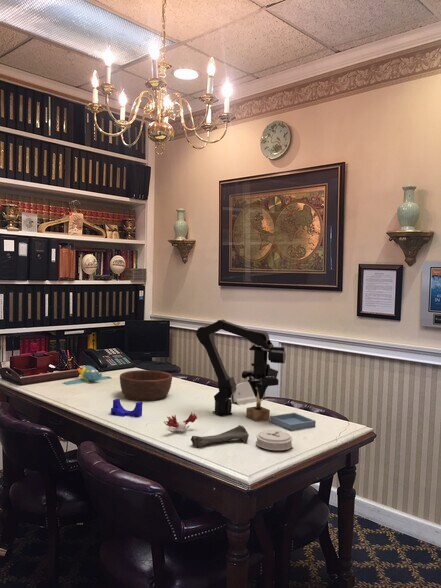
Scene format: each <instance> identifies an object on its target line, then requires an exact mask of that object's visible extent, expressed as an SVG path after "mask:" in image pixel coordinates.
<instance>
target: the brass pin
mask: <svg viewBox="0 0 441 588" xmlns="http://www.w3.org/2000/svg"><path fill="white" fill-rule="evenodd" d="M255 389H257V402H255V403H256V406H255V407H256V410H261V407H262V401H261V399H260V398H259V394H258V388H257V386H256V387H255Z"/></svg>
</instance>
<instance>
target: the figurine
mask: <svg viewBox="0 0 441 588" xmlns="http://www.w3.org/2000/svg"><path fill="white" fill-rule="evenodd" d="M166 418H167V420H168V421H166V420H164V421H163V424H165V425H166V426H168V430H169V432H173V433H174V432H176V431H178V432H179V433H181V432H182V433H184V431H185V432H188V429H189V427H190V424H189V423H194V422H195V421H196V420H197V419H198V416H197V414H195V413H193V412H192V411H190V415H189V416H188V418H187V419H185V420H182V421H178V420H177V416H176V414H174V415H171V417H170V416H166ZM177 421H178V422H177Z"/></svg>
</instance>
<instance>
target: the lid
mask: <svg viewBox="0 0 441 588" xmlns="http://www.w3.org/2000/svg"><path fill="white" fill-rule="evenodd" d="M292 441H293V436H292V435H290V433H288V432H286V431H282V430H276V429H265V430H261V431H260V432H257V434H256V442H255V444H256V445H257V446H258V447H259V448H261V449H265V450H268V451H269V450H271V451H286V450H289V449H291V448H292V447H293V444H292Z"/></svg>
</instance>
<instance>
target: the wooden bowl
mask: <svg viewBox="0 0 441 588" xmlns="http://www.w3.org/2000/svg"><path fill="white" fill-rule="evenodd" d="M172 381H173V375H172V374H171V373H170V372H166V371H161V370H153V369H152V370H149V369H139V370H129V371H125V372H122V373H121V374H119V382H120V389H121V392H122V394H123V395H124V397H125V398H126V399H129V400H132V401H138V402H143V401H144V402H147V401H148V402H151V401H160V400H163V399H165V398H166V397H167V396H168V394H169V392H170V390H171V386H172V383H173V382H172Z"/></svg>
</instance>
